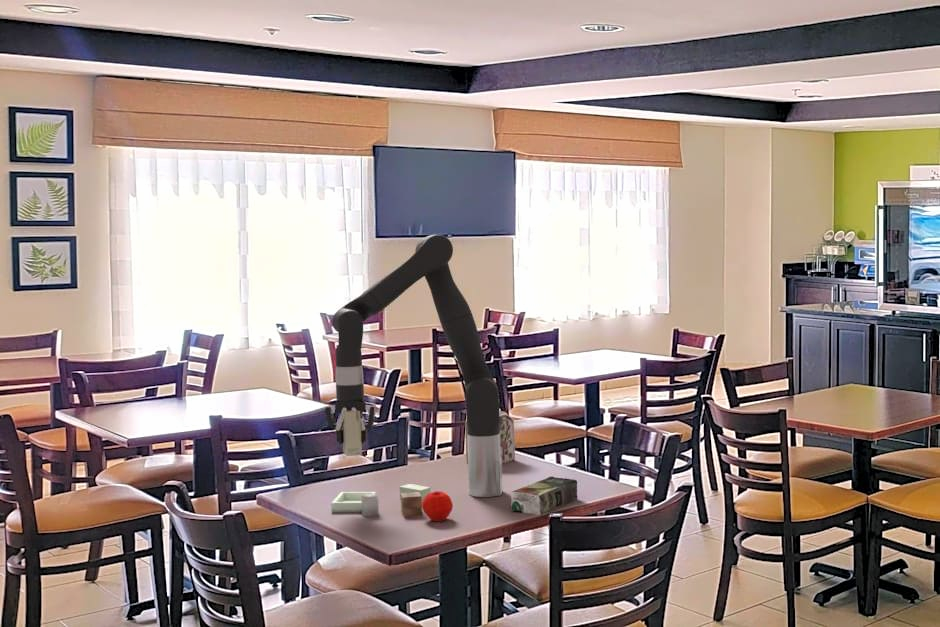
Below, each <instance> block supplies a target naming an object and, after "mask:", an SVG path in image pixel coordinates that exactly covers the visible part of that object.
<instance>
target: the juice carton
mask: <svg viewBox="0 0 940 627" xmlns="http://www.w3.org/2000/svg"><path fill="white" fill-rule="evenodd" d="M510 496H511V498H510V500H511V505H510V506H511V511H512V512H520V513H523V514H528V515H535V516H541V515H544V514H547V513H549V512H550V511H553V510H555V509H558V508H560V507H562V506H564V505H568V504H570V503H572V502H575V501H577V500H578V480H576V479H572V478H564V477H555V476H548V477H546V478H544V479H542V480H539V481H535V482H534V483H531V484H528V485H526V486H523V487H521V488H517V489H515V490H513V491H511V492H510Z"/></svg>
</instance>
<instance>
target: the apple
mask: <svg viewBox="0 0 940 627" xmlns="http://www.w3.org/2000/svg"><path fill="white" fill-rule="evenodd" d="M453 506H454V505H453V501H452V499H451V497H450V495H448V494H447V493H446V492H443V491H438V490H437V491H433V492H431V493H429V494H427V495H426V496H425V498H424V500H423V502H422V512H424V514H425V515H426V516H427V517H428V518H429V520H431V521H434V522H442V521H444V520H446V519H447V518H448V516H450V514H451V512H452V511H453Z"/></svg>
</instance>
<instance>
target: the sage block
mask: <svg viewBox="0 0 940 627" xmlns="http://www.w3.org/2000/svg"><path fill="white" fill-rule="evenodd" d="M409 492H420V494H421V501H422V502H423V500H424V498H425V496H426V495H427V494H429V493H432V492H431V486H423V485H419V484H412V483H408V484H407V483H406V484H405V485H400V486H399V500H400V501H401V493H409Z"/></svg>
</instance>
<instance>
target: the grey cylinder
mask: <svg viewBox="0 0 940 627" xmlns="http://www.w3.org/2000/svg"><path fill="white" fill-rule="evenodd" d="M361 502H362V512H361V515H362V516H363V517H374V516H378V515H379V512H380V511H379V495H378V494H377V493H376V494H364V495H362V496H361Z"/></svg>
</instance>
